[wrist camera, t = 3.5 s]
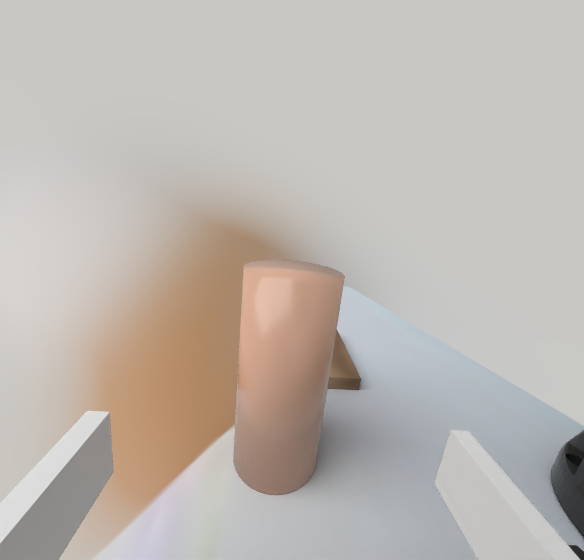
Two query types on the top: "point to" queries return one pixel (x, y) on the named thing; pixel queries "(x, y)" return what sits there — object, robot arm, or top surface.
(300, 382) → the terracotta canister
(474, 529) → the robot arm
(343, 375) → the cutting board
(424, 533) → the top surface
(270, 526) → the top surface
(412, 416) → the top surface
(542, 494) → the top surface
